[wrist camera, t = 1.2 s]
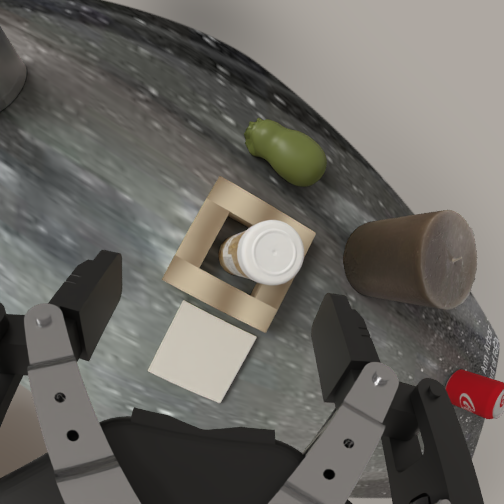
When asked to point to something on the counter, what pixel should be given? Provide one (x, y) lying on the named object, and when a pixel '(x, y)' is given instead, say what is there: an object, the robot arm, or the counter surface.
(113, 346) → the counter surface
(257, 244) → the sprinkles bottle
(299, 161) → the pear
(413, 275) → the pillar candle
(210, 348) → the tile
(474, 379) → the beverage can
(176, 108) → the counter surface
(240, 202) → the collar
